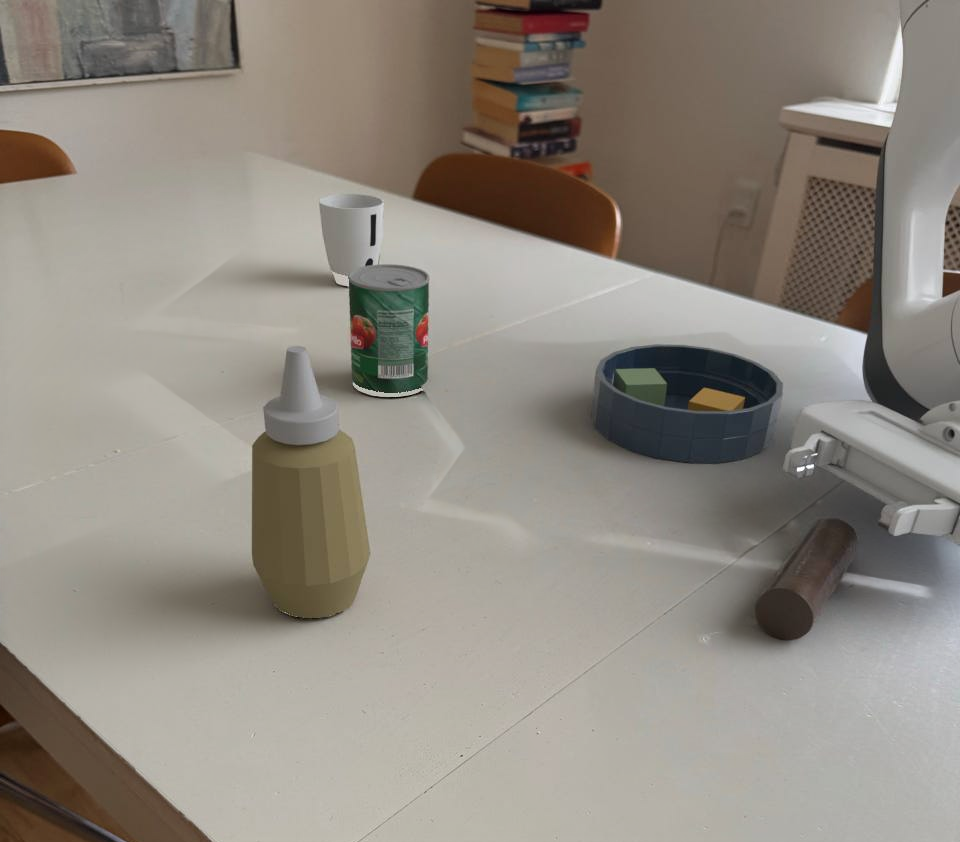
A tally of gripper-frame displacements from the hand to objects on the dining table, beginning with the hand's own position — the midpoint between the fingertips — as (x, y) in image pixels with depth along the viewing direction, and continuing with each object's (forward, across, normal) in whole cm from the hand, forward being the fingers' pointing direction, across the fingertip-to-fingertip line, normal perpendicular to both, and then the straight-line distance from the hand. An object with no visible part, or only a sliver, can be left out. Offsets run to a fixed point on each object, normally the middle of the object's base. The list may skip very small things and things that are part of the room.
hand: (837, 491), depth 71 cm
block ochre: (-8, -22, +6) cm, 24 cm away
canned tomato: (+13, -48, +8) cm, 50 cm away
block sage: (-4, -29, +6) cm, 30 cm away
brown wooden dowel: (-2, -1, +5) cm, 6 cm away
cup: (+3, -81, +8) cm, 82 cm away
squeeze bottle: (+35, -14, +8) cm, 38 cm away
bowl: (-7, -26, +7) cm, 28 cm away
